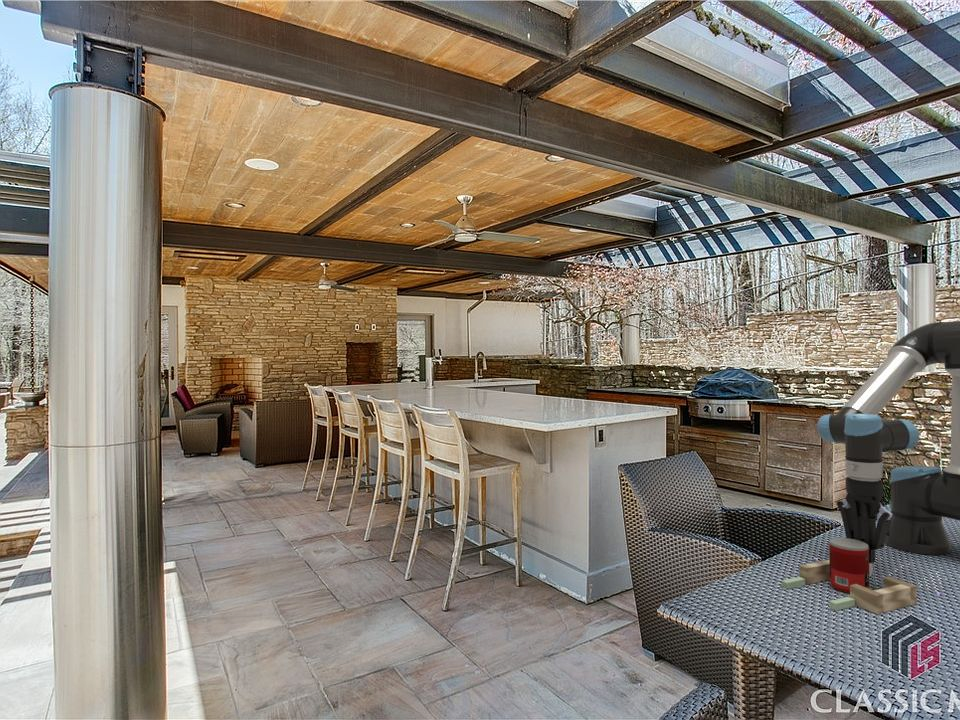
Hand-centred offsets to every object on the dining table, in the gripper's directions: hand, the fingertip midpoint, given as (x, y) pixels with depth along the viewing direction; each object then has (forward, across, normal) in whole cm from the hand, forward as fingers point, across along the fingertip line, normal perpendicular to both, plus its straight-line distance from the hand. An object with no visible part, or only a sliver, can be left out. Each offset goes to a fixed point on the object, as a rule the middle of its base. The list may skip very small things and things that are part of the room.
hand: (865, 574), depth 137 cm
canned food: (+3, 0, -5) cm, 6 cm away
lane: (+3, +2, -6) cm, 7 cm away
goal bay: (+3, 0, -16) cm, 17 cm away
